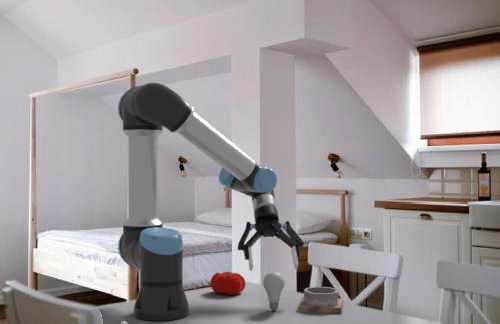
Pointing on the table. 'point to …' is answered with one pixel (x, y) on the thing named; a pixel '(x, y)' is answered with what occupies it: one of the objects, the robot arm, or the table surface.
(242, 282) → the tomato
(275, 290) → the lightbulb
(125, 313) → the table surface
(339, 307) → the bulb socket
